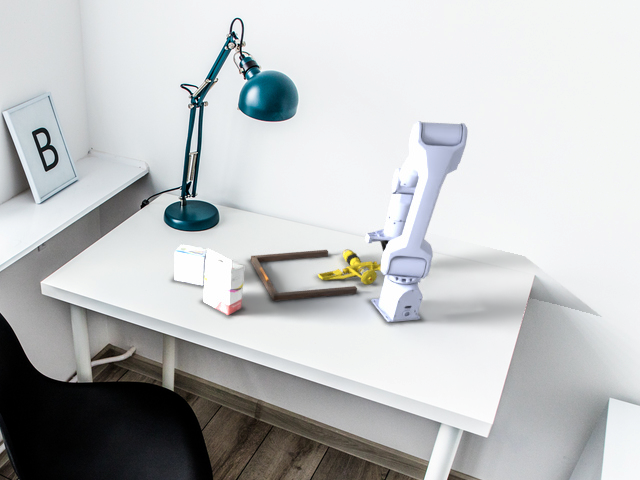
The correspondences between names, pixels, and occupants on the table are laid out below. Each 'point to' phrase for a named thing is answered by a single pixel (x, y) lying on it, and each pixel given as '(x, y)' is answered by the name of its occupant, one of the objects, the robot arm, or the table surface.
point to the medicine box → (190, 264)
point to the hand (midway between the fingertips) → (387, 264)
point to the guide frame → (296, 294)
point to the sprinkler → (354, 269)
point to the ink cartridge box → (223, 283)
